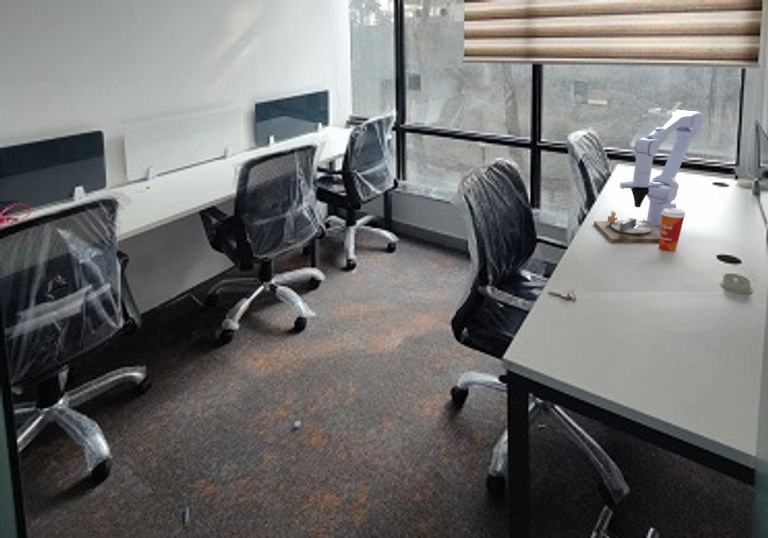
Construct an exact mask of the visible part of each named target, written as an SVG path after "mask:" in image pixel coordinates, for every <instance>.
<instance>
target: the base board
mask: <svg viewBox="0 0 768 538" xmlns="http://www.w3.org/2000/svg"><path fill="white" fill-rule="evenodd" d="M637 221H638V222H642V223H646V224H648V225H650V226H651V231H650V232H649V233H646V234H627V233H622V232H618V231H616V230H614V229H612V227H611V225H610V222H608V220H602V221H601V220H596V221H595V220H594V221H593V226H594V227H595V228H596V229H597V230H598V231H599V232H600V233H601V234H602V235H603V237H605V238H606V239H607V240H608V241H609V242H610V243H611V244H616V243H618V244H620V243H621V244H625V243H627V244H630V243H633V244H638V243H641V244H642V243H643V244H645V243H646V244H647V243H648V244H649V243H653V244H654V243H655V244H656V243H658V244H659V238H660V229H659V228H657V227H656V225H652V224H651V223H650V222H649V221H644V220H637Z"/></svg>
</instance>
